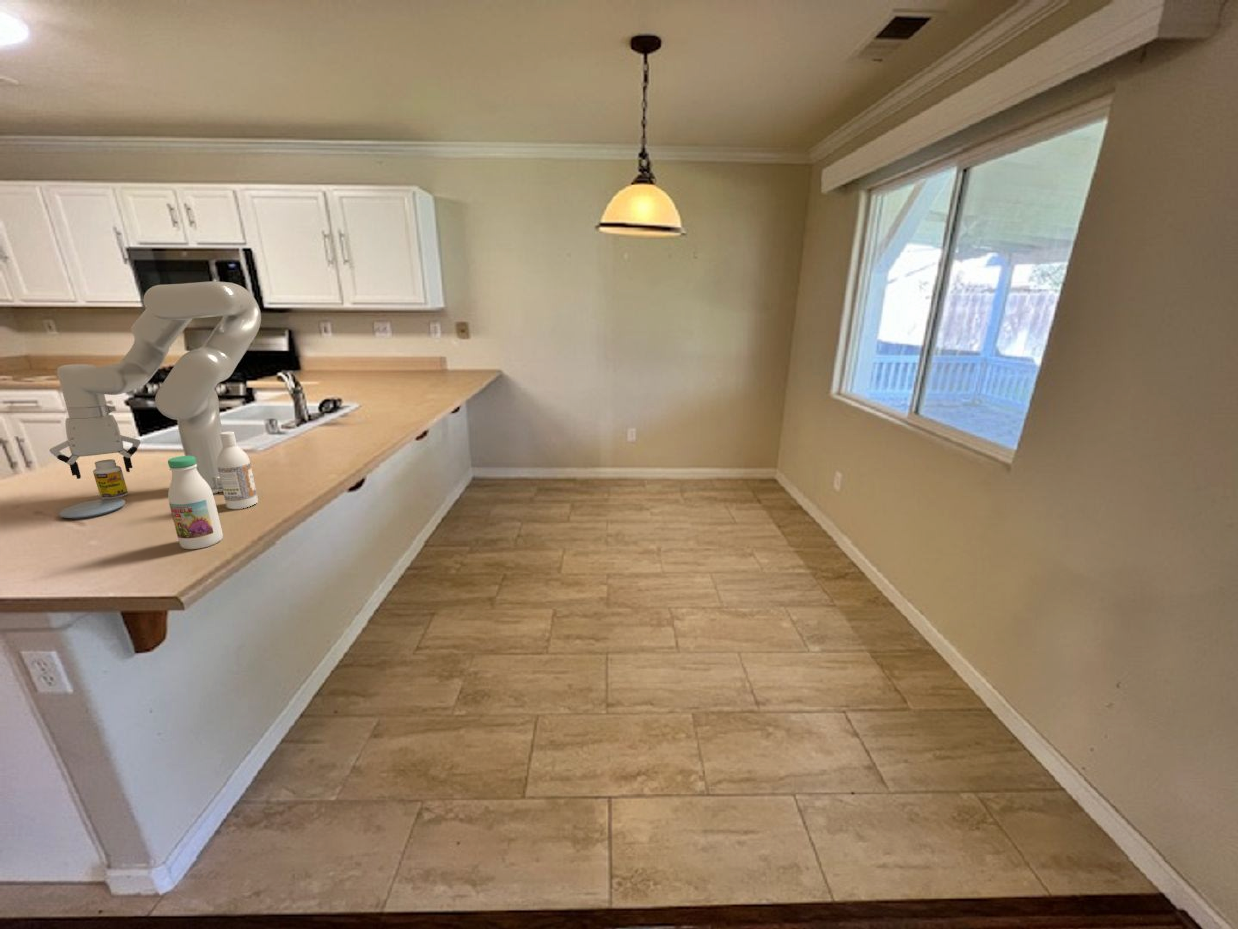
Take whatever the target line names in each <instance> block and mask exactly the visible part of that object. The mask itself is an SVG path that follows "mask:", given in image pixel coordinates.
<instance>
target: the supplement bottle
mask: <svg viewBox="0 0 1238 929" xmlns="http://www.w3.org/2000/svg"><path fill="white" fill-rule="evenodd" d="M94 465H95V469H93V471H92V473H93V476H94V480H95V484H96V487H97V490H98V493H99V496H100V498H101V499H111V498H117V499H121V498H123V497H125V496H127V495H128V493H129V491H128V487H127V484H126V481H125V480H126V479H125V477H124V473H123V470H122V467H121V466H119V465H117V463H116V460H115V459H113V458H112V459H102V460H101V459H100V460H97V461H95V462H94Z"/></svg>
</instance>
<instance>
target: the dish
mask: <svg viewBox="0 0 1238 929" xmlns="http://www.w3.org/2000/svg"><path fill="white" fill-rule="evenodd" d="M125 505H126V500H124V499H123V498H111V499H102V498H101V499H94V500H87V501H84V502H81V503H77V504H74V505H70V506H67V507H65V508H63V509H62V510H60V511H59V513H58V514H59V516H60V517H61V518H65V519H66V518H67V519H77V520H78V519H79V520H80V519H90V518H95V517H99V516H103V515H107V514H110V513H113V512H115V511H117V510H118V509H121V508H122V507H124V506H125Z"/></svg>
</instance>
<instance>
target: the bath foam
mask: <svg viewBox="0 0 1238 929" xmlns="http://www.w3.org/2000/svg"><path fill="white" fill-rule="evenodd" d="M220 436H221V441H222V445H223V448H222V450H221V452H220V454H219V456H218V459H217V467H218V472H219V476H220V480H221V485H222V489H223V492H222V493H223V497H224V501H225V505H226V508H228V509H230V510H242V509H243V508H244V509H247V507H248V508H251V507H253V506H252V505H254V504H256V503H257V504H258V503H259V499H258V497H259V496H258V492H257V489H256V484H255V477H254V475H253V469H252V465H251V460H250V458H249V456H248V454H247V453H246V452H245V451H244V449H242V448H241V447H239V446H238V445H237V444H238V443H237V440H236V436H235V432H234V431H230V430H229V431H223V432H222V433H220ZM257 504H256V505H257ZM250 506H251V507H250ZM254 506H255V505H254Z"/></svg>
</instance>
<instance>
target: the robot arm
mask: <svg viewBox="0 0 1238 929" xmlns="http://www.w3.org/2000/svg"><path fill="white" fill-rule="evenodd" d="M143 305H144V307H145V309H144V311H143V312H142V313H141V315H140V316H139V317H138V318H137V319H136V321H135V322H134V323H133V324H132V326H131V327H130V330H131V333H132V336H133V338H134V341H133V343H132V344H133V345H131V347H130V349H129V351H128V352H127V353H126V354H125V355H124V357H123V358H122V359H121V360H120V361H119V362H118V363H113V364H108V365H103V366H96V365H92V364H84V363H81V364H75V363H74V364H65V365H61V366H58V368H57V369H56V370H57V371H56V372H57V377H58V381H59V385H60V389H61V392H62V396H63V401H64V402H65V407H66V411H67V415H68V417H66V418H65V423H64V424H65V434H66V439H67V440H65V441H63V442H61V443H59V444H57V445H55V446H53V447H51V448H50V449H49V453H51V454H52V455H53V456H54V457H56V458H57V460H60V461H61V462H63V463H65V464H67V465H68V466H69V468H70V472H71V475H72V477H74V476H76V479H77V480H79V479H80V480H81V478H82V476H81V470H80V468H79V464H78V462H77V461H78V459H79V458H80V457H82V458H83V457H90V456H91V457H92V456H99V455H108V454H109V455H110V454H115V453H116V454H117V453H118V454H120V455H121V456H122V459H123V463H124V466H125V472H126V473H130V472H131V470H130V469H133V463H132V459H131V458H132V456H133V455H134V454H135V453H136V452H137V451H138V449H139V447H140V444H141V440H140V439H137V438H135V437H134V438H133V437H131V436H130V437H129V436H126V435H122V433H121V432H120V428H119V425H118V423H117V420H116V418H115V416H114V415H113V414H110V413H112V412H116V411H117V409H116V406H111V405H109V404H107V398H106V395H108V396H110V395H111V396H117V395H122V394H126V393H129V392H131V391H132V392H133V391H135V390H139V389H141V388H142V387H144V386H145V385H146V384H148V382H149V381H150V380H151V379H152V378H153V376H154V375H155V374H156V372H158V371H159V369H160V367H161V366H162V365H163V363H164V362H165V359H166V358H167V355H168V354H169V351H170V348H171V347H172V345H173V344H174V343H175V342H176V340H177V339H178V337H179V336H181V334H182V333H183V331H184V330H185V329H186V328H187V326H188V325H189V324H190V323H191V321H193V319H202V318H203V319H205V318H215V317H222V319H221V320H220V321H219V322H218V324H216V326H215V327H214V329H213V330H212V332H211V334H210V335H209V336H208V338H207V340H206V341H205V342H204V343H203V345H202V346H200V347H199V348H196V349H195V348H194V349H192V350H189V351H187V352H185V353H184V354H183V355H182V356H180V357H179V359H178V360H177V361H176V363H175V364H174V366H173V368H172V369H171V370H170V372H169V373H168V375H166V378H164V381H163V382H162V384H161V385H160V387H159V388H158V390H157V392H156V394H155V397H154V398H155V399H154V400H155V405H156V408H157V410H158V411H159V412H160V413H161V414H162V415H163V416H165V417H167V419H168V418H169V419H171V420H176V421H177V427H178V429H177V430H178V434H179V437H180V442H181V447H182V449H183V450H182V451H183V454H184V455H183V456H194V457H195V459H196V465H197V466H196V469H197V471H198V473H199V474H200V476H201V477H202V478H203V479H204V480H205V481H206V482H207V483H208V485H209V486H210V488H211V490H212V493H213V495H214V494H219V493H223V489H222V485H221V480H220V476H219V472H218V467H217V459H218V456H219V454H220V452H221V450H222V448H223V445H222V441H221V436H220V433H222V432H224V431H223V426H222V421H221V416H220V415H221V414H220V403H219V402H220V401H219V397H218V393H217V391H216V389H215V388H216V387H217V385H218V384H219V383H221V382H224V381H226V380H227V379H229V378H230V377H231V376H232V374H233V373H234V371H235V369H236V368H237V366H238V364H239V363H240V362H241V360H242V359H243V357H244V355H245V354H246V353H247V351H248V349H249V347H250V346H251V344H252V343H253V342H254V339H255V338H256V336H257V334H258V333H259V329H260V327H261V322H262V314H261V309H260V307H259V304H258V302H257V300H256V298H255V297H254V296H253V295H252V293H251V292H250V291H249V290H248V289H246V288H245V287H243V286H241V285H239V284H237V283H233V282H228V281H227V282H226V281H213V280H212V281H211V280H210V281H201V282H187V283H172V284H157V285H153V286H152V287H150V288H148V289H146V292H145V293H144V295H143ZM123 442H124V443H125V442H126V443H129V444H132V445H131V446H130V448H129V449H125V448H124V443H123ZM66 448H68V449H69V451H70V454H71V455H70V456H67V455H65V454H63V453H61V452H60V451H63V450H64V449H66ZM218 492H219V493H218Z"/></svg>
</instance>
